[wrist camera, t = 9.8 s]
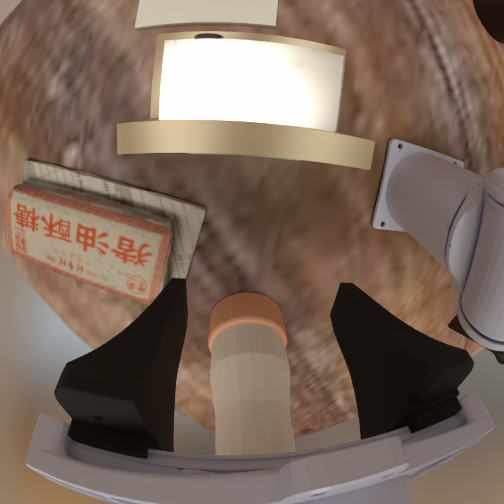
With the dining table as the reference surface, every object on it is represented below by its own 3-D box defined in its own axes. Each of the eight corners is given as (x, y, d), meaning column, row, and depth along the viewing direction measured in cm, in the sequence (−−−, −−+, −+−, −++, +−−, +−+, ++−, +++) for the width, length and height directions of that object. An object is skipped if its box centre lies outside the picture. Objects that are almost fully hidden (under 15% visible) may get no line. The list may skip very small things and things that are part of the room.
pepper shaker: (194, 315, 26) (176, 515, 10) (254, 278, 24) (281, 512, 8) (239, 352, 29) (248, 521, 13) (295, 323, 28) (337, 507, 11)
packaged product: (5, 271, 18) (-2, 170, 13) (30, 247, 22) (31, 156, 17) (173, 334, 21) (203, 230, 17) (181, 298, 26) (209, 204, 21)
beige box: (339, 52, 15) (385, 33, 9) (328, 153, 19) (369, 175, 13) (161, 37, 14) (127, 9, 8) (154, 142, 18) (117, 160, 12)
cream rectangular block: (317, 60, 15) (344, 46, 10) (310, 126, 17) (335, 132, 13) (183, 49, 14) (166, 30, 10) (178, 117, 16) (159, 120, 12)
